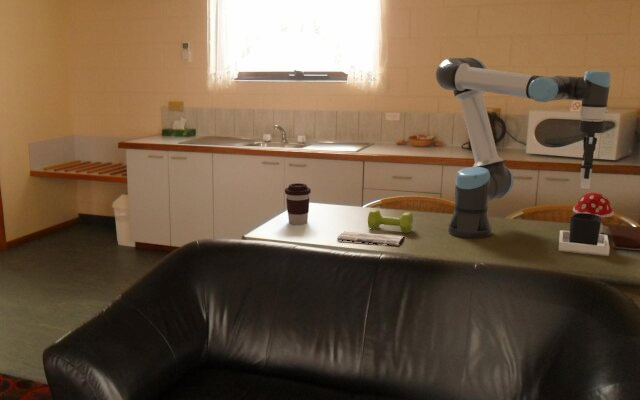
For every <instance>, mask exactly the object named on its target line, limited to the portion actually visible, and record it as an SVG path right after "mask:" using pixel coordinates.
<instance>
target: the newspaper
mask: <svg viewBox="0 0 640 400" xmlns="http://www.w3.org/2000/svg"><path fill="white" fill-rule="evenodd" d="M403 237H404V238H405V236H403V235H393V234H380V233H369V232H359V231H358V232H355V231H346V230H345V231H343V232H341V233H339V235H338V236H337V240H338V239H340V240H338V242H345V243H353V242H352V241H354V242H355V243H358V244H359V243H360V244H363V243H362V242H365V243H369V242H371V243H369V245H374V244H373V243H377V244H380V245H379V246H381V245H382V244H389V245H391V246H400V244H399V243H400V242H401V240H402V239H404V238H403ZM342 240H343V241H342ZM347 240H350V241H347ZM358 241H361V242H358Z"/></svg>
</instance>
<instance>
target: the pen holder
mask: <svg viewBox="0 0 640 400" xmlns="http://www.w3.org/2000/svg"><path fill="white" fill-rule="evenodd" d="M601 222H602V217H600V216H597V215H594V214H588V213H575V214H573V215H572V216H570V219H569V231H570V234H569V242H570V243H579V244H589V245H597V243H598V238H599V231H600V225H601Z"/></svg>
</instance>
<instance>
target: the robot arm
mask: <svg viewBox="0 0 640 400" xmlns="http://www.w3.org/2000/svg"><path fill="white" fill-rule="evenodd" d="M435 79H436V82H437V84H438V85H439V86H440V87H441V88H443V89H444V90H446V91H453V94H454V98H455V99H456V100H458V101H459V103H460V107H461V110H462V116H463V118H464V122H465V126H466V130H467V135H468V139H469V143H470V148H471V151H472V155H473V160H474V164H473V165H472V166H471V167H463V168H461V169H460V170H458V171H457V172H456V175H455V176H456V177H455V182H454V183H455V190H454V191H455V193H454V209H453V213H452V217H451V219H450V221H449V224H448V230H447V231H448V233H449V234H451V235H453V236H455V237H459V238H466V239H483V238H487V237H489V236H491V235H492V226H491V222H490V218H489V215H488V214H489V213H488V205H489V201H492V200H495V199H496V200H497V199H501V198H503V197H504V196H506V195H508V194H509V193H510V192H511V191H512V189H513V186H514V182H515V178H514V174H513V172H512V171H511V169H509V167H506V164H505V161H504V159H503V158H501V157H500V156H499V153H498V150H497V145H496V143H495V139H494V135H493V130H492V126H491V123H490V118H489V115H488V110H487V107H486V103H485V102H486V101H485V99H484V93H491V94H492V93H493V94H499V95H504V96H512V97H518V98H524V99H530V100H533V101H535V102H539V103H547V102H553V101H562V100H565V101H566V100H568V101H571V100H572V101H581V106H580V113H579V118H580V120H579V123H578V131H579V132H581V133H585V136H583V138H582V140H583V141H582V142H583V144H582V145H583V148H582V149H583V153H582V161H581V165H580V169H581V170H580V177H579V180H580V181H581V182H580V189H588V190H590V188H591V180H592V179H591V178H592V172H593V167H594V165H593V163H594V162H593V161H594V153H595V151H596V146H597V143H598V137H595V135H596V134H603V133H605V126H606V121H605V119H606V116H607V114H608V113H609V110H608V109H607V107H608V100H609V95H610V87H611V73H610V72H609V71H607V70H587V71H585V72H584V76H570V75H569V76H568V75H566V76H565V75H552V76H543V75H534V74H526V73H521V72H520V73H518V72H510V71H503V70H497V69H489V68H487V67H486V65H485V64H484V62H483V61H481V60H480V59H478V58H475V57H450V58H446V59H444V60H443V61H442V62H440V63H439V65H438V66H437V68H436V71H435Z"/></svg>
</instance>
